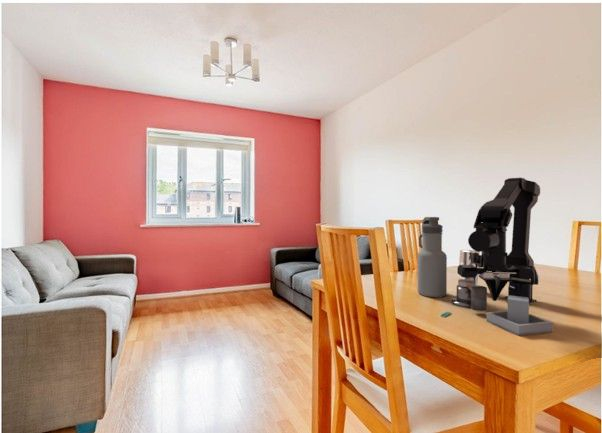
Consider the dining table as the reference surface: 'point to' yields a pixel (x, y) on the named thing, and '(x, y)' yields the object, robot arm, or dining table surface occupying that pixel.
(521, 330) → the tray
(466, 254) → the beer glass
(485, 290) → the crank arm
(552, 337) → the dining table surface
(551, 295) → the dining table surface
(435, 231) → the water bottle
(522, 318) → the block
